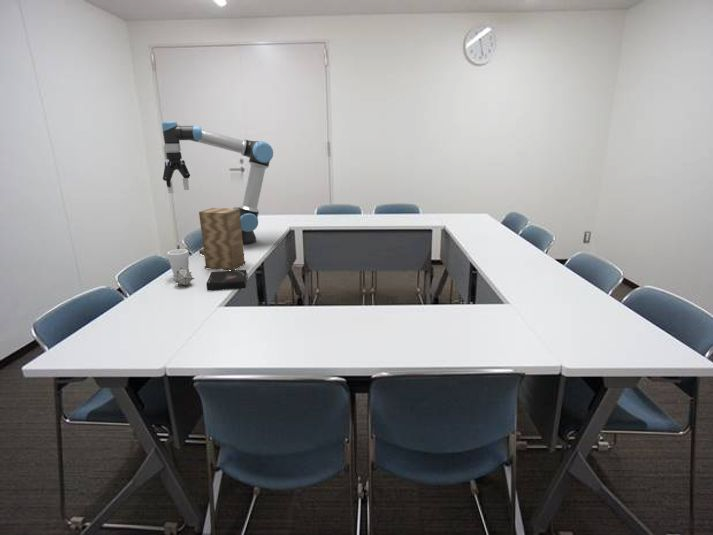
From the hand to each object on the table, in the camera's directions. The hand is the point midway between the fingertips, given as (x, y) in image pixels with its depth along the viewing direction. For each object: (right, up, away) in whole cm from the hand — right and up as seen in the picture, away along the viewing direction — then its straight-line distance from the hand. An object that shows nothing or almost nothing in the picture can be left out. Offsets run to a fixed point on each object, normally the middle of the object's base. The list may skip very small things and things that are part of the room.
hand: (179, 191), depth 224 cm
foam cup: (+13, -48, -25) cm, 55 cm away
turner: (+21, -36, +8) cm, 43 cm away
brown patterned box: (+29, -42, -9) cm, 51 cm away
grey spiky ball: (+19, -51, -36) cm, 65 cm away
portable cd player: (+38, -51, -33) cm, 72 cm away
